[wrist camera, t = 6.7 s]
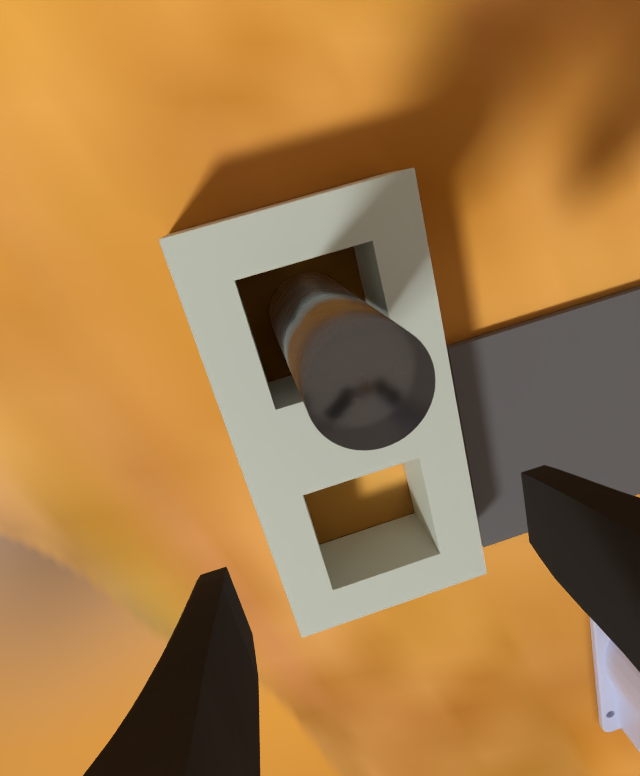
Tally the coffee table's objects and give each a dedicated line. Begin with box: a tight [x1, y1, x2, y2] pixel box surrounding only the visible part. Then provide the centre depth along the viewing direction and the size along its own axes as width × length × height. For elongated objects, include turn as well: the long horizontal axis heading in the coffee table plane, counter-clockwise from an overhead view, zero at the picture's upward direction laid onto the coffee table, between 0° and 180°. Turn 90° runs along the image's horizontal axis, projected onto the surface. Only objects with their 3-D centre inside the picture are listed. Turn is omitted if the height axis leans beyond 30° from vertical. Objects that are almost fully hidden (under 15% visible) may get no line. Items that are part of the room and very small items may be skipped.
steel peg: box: [269, 272, 436, 451], centre depth 16 cm, size 3×3×9 cm
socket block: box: [159, 168, 487, 638], centre depth 20 cm, size 16×8×3 cm, turn 14°
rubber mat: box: [446, 286, 640, 547], centre depth 24 cm, size 10×10×1 cm
